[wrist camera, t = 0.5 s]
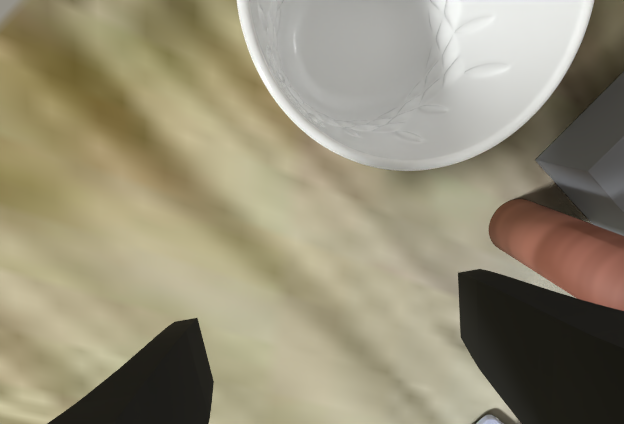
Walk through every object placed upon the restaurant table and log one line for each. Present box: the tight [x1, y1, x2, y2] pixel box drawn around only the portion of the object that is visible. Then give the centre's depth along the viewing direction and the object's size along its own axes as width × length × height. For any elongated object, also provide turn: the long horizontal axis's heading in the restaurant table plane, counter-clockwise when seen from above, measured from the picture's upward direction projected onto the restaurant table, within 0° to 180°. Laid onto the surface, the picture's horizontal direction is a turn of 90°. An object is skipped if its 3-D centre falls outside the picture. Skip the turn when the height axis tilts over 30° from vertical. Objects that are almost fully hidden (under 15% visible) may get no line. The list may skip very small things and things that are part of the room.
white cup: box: [237, 0, 594, 171], centre depth 13 cm, size 8×8×10 cm
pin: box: [489, 199, 624, 311], centre depth 17 cm, size 3×3×8 cm
